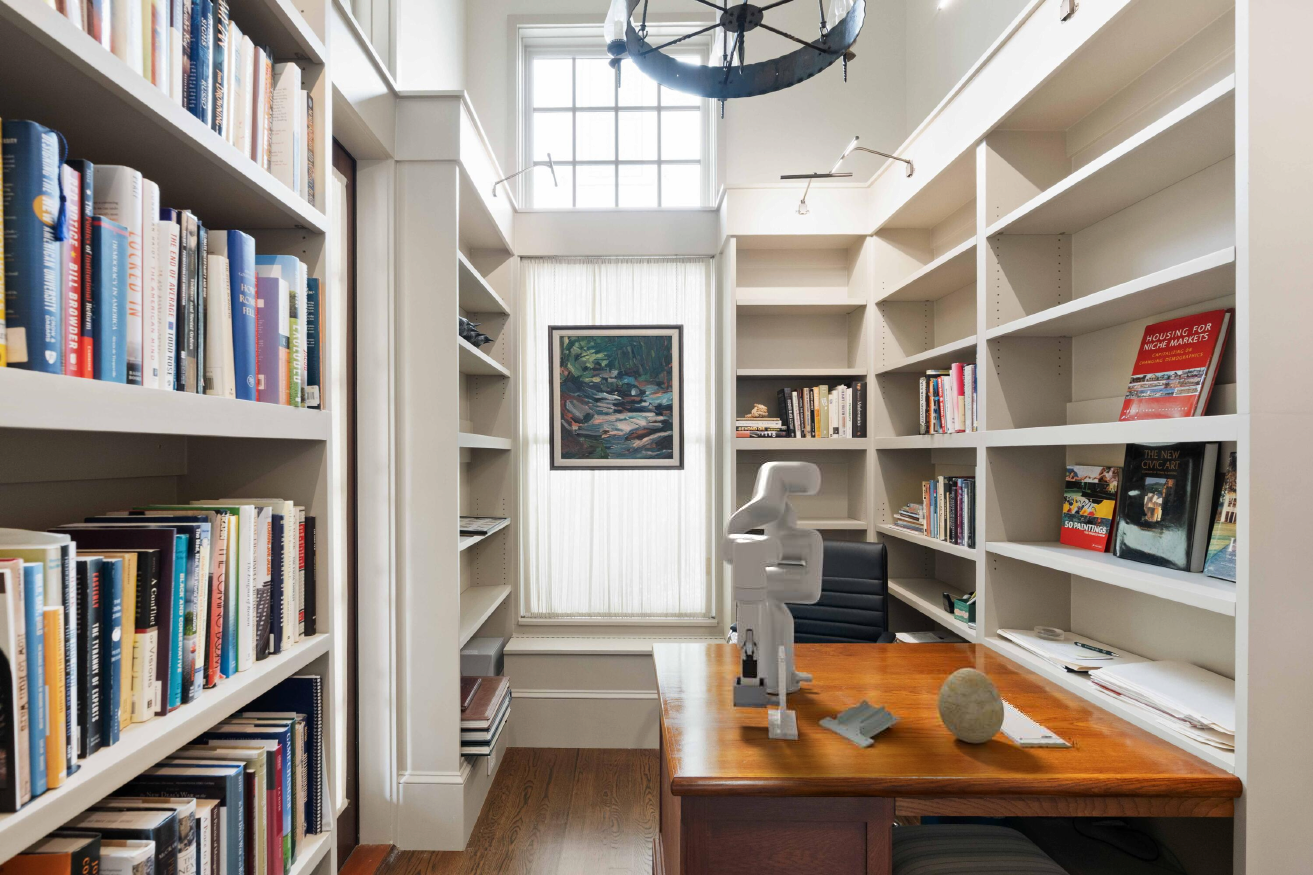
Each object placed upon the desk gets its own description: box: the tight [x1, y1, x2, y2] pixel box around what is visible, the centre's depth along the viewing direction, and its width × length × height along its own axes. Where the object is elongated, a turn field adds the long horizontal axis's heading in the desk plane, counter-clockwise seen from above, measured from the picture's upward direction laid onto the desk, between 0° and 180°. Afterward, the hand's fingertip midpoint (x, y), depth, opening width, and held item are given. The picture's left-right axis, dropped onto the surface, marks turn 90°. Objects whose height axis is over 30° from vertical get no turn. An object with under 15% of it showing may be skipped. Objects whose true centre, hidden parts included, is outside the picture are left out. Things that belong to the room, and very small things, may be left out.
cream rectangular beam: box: [740, 647, 759, 686], centre depth 156 cm, size 4×4×11 cm
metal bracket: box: [818, 699, 901, 749], centre depth 152 cm, size 14×6×15 cm
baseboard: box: [999, 697, 1078, 748], centre depth 159 cm, size 31×3×12 cm
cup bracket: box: [732, 645, 799, 740], centre depth 155 cm, size 14×14×16 cm
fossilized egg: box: [937, 667, 1004, 744], centre depth 147 cm, size 13×13×15 cm
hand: (750, 671), depth 156 cm, fingers open, 9 cm apart
